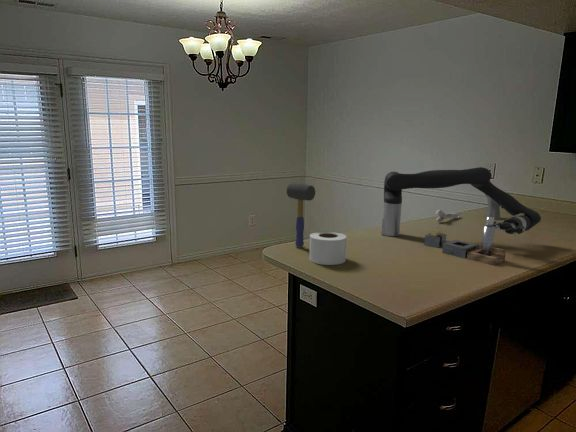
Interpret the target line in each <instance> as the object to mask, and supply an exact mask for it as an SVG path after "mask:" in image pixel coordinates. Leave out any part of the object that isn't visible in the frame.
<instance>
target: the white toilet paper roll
mask: <svg viewBox="0 0 576 432" xmlns="http://www.w3.org/2000/svg"><path fill="white" fill-rule="evenodd" d="M347 237H348V236H347V235H346V234H343V233H341V232H333V231H319V232H318V231H317V232H313V233H310V234H309V262H312V263H314V264H318V265H323V266H336V265H342V264H344V263H346V257H347V256H346V254H347Z"/></svg>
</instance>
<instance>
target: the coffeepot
mask: <svg viewBox="0 0 576 432" xmlns="http://www.w3.org/2000/svg"><path fill="white" fill-rule="evenodd" d="M484 196H485V197H486V198H487V199H486V200H487V205H488V206H487V209H486V212H485V219H486V218H487V217H494V221H495V220H496V221H498V220H500V219H501V210H500V208H501V209H504V208H503V207H501V206H500V205H499V204H498V203H497V202H495V201H494V200H493V199H492V198H490V197H489V196H487V195H486V194H485V193H484Z"/></svg>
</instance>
